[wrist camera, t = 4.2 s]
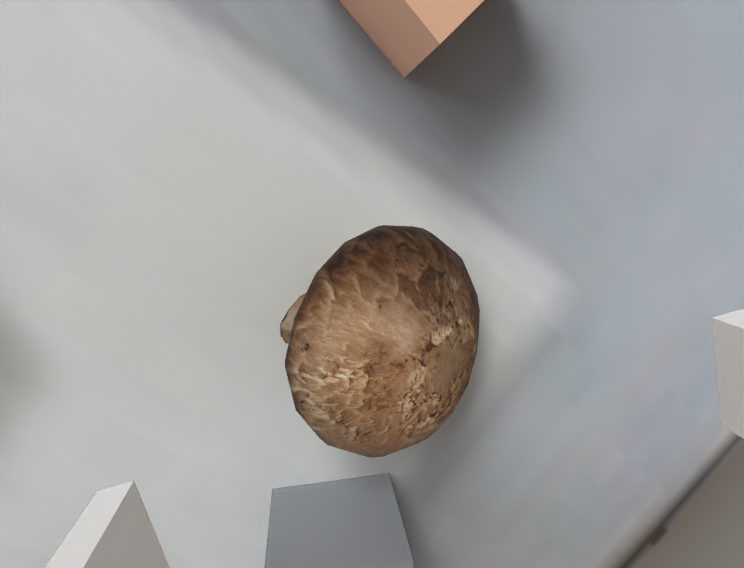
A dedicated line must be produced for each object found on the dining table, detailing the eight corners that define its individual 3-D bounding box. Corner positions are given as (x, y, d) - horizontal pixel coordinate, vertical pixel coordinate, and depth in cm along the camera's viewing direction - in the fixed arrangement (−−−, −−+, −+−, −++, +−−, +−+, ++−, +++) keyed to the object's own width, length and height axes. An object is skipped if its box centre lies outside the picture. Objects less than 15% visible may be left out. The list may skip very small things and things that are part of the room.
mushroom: (182, 363, 16) (301, 441, 12) (309, 170, 18) (448, 176, 14) (327, 438, 21) (445, 510, 17) (412, 283, 23) (535, 312, 19)
